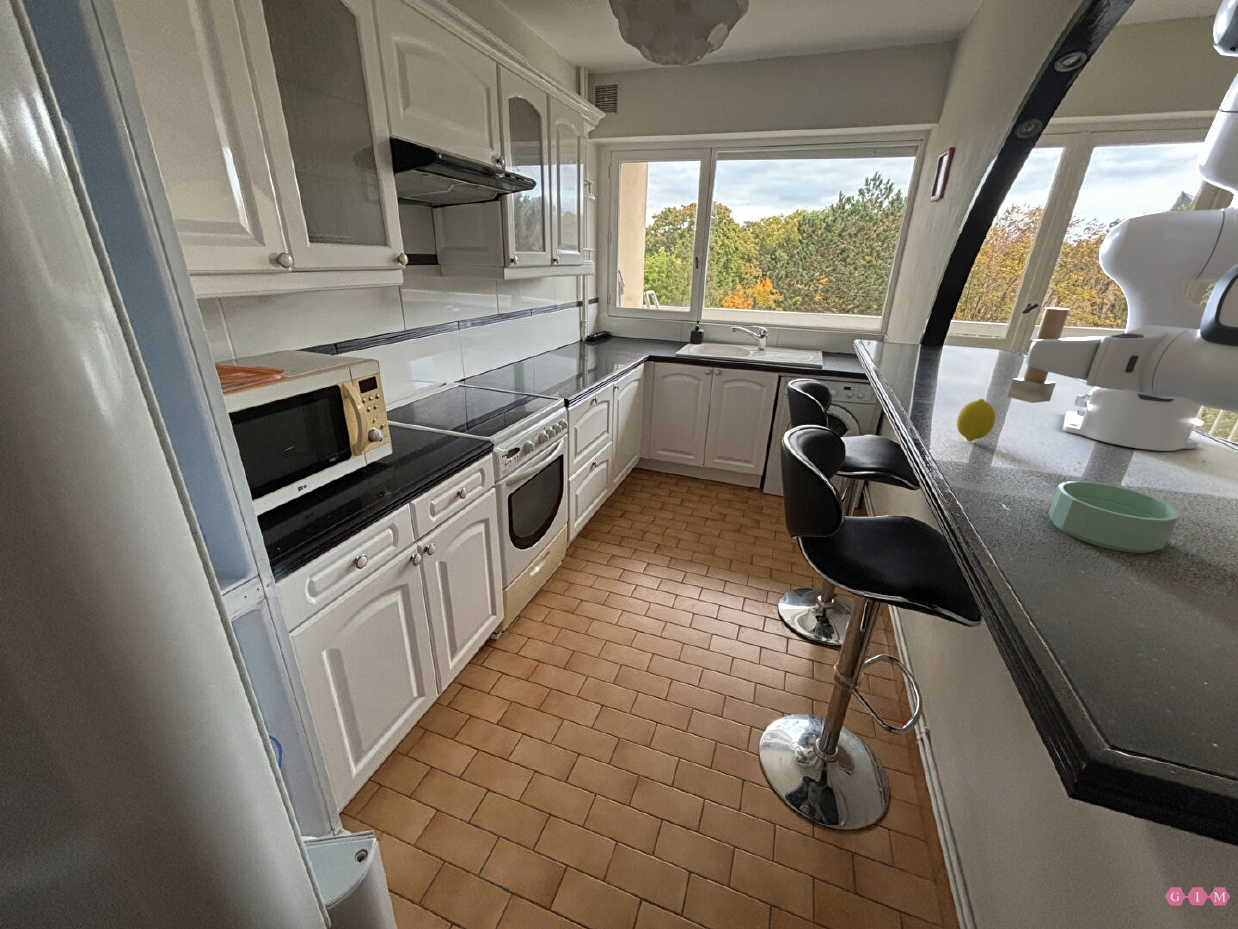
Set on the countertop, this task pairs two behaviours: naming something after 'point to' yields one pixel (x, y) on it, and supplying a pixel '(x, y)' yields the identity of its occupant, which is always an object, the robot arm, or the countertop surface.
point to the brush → (1035, 379)
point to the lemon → (976, 420)
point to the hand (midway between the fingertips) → (1039, 344)
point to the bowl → (1113, 516)
